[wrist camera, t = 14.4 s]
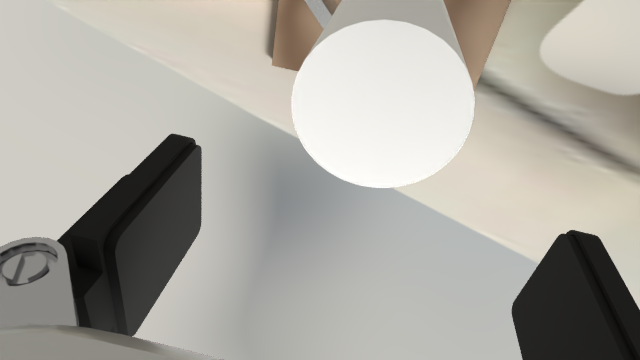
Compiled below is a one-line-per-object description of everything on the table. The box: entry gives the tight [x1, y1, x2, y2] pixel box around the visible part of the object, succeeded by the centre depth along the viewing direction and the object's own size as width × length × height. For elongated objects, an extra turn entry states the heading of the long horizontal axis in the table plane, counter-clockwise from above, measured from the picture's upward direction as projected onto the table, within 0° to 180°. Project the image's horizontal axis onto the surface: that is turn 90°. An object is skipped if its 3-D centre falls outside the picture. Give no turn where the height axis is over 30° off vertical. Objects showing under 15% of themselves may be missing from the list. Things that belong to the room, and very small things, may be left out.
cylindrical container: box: [291, 0, 475, 188], centre depth 27 cm, size 7×7×25 cm
